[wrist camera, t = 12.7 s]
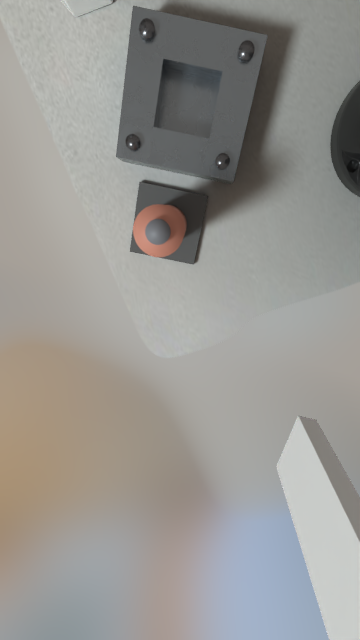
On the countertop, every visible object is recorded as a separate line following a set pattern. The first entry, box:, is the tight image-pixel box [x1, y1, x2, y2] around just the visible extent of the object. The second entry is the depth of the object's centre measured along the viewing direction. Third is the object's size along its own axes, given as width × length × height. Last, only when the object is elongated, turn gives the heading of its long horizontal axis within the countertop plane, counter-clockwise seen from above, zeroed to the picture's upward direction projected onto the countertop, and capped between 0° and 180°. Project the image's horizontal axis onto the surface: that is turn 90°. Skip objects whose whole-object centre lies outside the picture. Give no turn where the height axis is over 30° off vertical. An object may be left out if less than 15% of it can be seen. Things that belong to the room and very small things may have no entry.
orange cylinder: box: [133, 204, 187, 257], centre depth 36 cm, size 5×5×13 cm
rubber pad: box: [130, 182, 208, 264], centre depth 43 cm, size 9×9×1 cm
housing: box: [116, 6, 268, 184], centre depth 36 cm, size 14×14×5 cm
